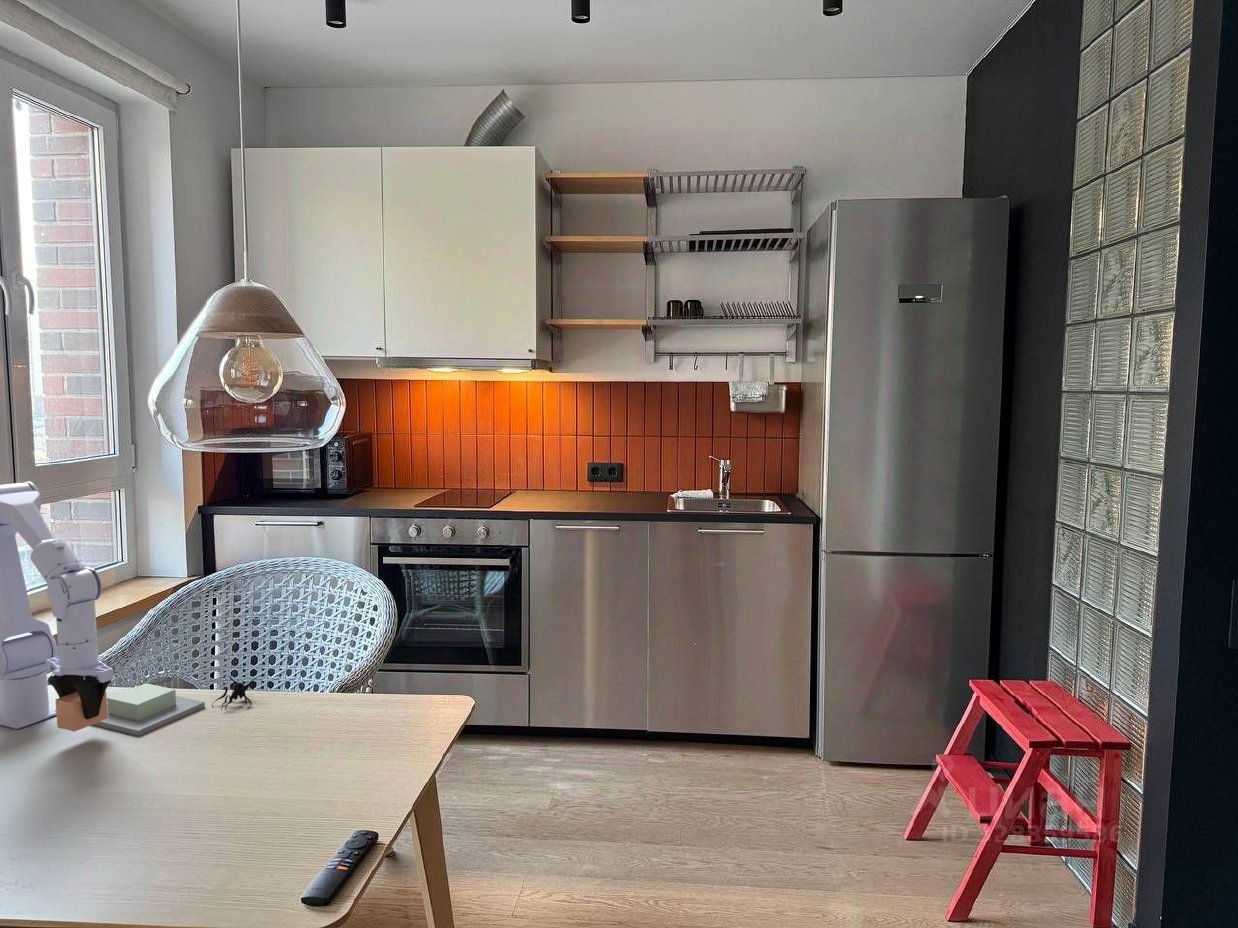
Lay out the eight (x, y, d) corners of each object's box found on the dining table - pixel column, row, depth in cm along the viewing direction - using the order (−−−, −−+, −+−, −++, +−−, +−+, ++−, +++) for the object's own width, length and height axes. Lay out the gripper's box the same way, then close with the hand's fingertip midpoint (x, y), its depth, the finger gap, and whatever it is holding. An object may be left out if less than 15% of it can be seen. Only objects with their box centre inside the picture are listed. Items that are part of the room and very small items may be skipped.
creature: (244, 718, 157) (265, 694, 165) (239, 694, 155) (261, 671, 163) (205, 716, 158) (228, 692, 165) (200, 692, 156) (223, 669, 164)
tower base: (78, 720, 153) (76, 700, 152) (146, 694, 166) (145, 675, 165) (138, 735, 147) (137, 714, 146) (204, 706, 159) (203, 687, 159)
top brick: (57, 727, 142) (55, 699, 142) (91, 714, 148) (89, 687, 147) (74, 731, 141) (72, 703, 140) (107, 718, 146) (106, 691, 146)
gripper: (26, 640, 142) (31, 716, 143) (83, 652, 136) (88, 730, 138) (67, 629, 148) (71, 701, 150) (123, 639, 143) (127, 714, 144)
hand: (82, 714), depth 144 cm, fingers closed on top brick, 4 cm apart
